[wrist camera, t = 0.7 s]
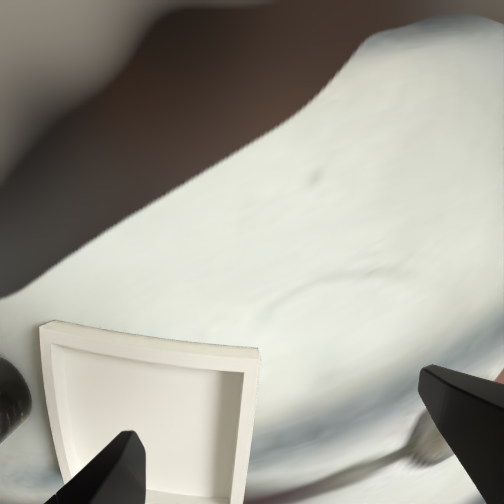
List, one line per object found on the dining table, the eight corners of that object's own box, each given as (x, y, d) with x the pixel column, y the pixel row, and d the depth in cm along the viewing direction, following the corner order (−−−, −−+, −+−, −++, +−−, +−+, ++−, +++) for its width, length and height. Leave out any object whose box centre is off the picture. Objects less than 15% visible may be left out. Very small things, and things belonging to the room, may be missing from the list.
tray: (239, 501, 23) (240, 519, 20) (74, 473, 22) (65, 487, 19) (257, 347, 23) (261, 359, 20) (54, 319, 22) (39, 326, 19)
